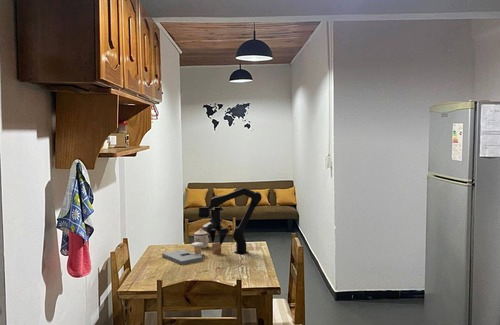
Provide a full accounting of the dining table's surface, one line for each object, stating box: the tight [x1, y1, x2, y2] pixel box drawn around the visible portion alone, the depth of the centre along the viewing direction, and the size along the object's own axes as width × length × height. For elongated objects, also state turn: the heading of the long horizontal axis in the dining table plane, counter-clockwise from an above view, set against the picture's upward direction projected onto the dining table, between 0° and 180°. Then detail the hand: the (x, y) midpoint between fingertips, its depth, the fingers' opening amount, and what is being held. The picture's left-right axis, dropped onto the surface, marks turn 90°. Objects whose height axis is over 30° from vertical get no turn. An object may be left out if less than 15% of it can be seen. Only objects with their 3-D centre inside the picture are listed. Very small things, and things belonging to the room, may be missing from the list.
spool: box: [191, 242, 205, 257], centre depth 282 cm, size 7×7×7 cm
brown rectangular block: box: [211, 242, 222, 255], centre depth 285 cm, size 3×4×6 cm, turn 127°
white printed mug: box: [193, 228, 210, 249], centre depth 302 cm, size 12×9×12 cm
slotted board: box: [161, 249, 204, 266], centre depth 275 cm, size 24×14×2 cm, turn 37°
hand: (216, 243), depth 285 cm, fingers open, 9 cm apart
